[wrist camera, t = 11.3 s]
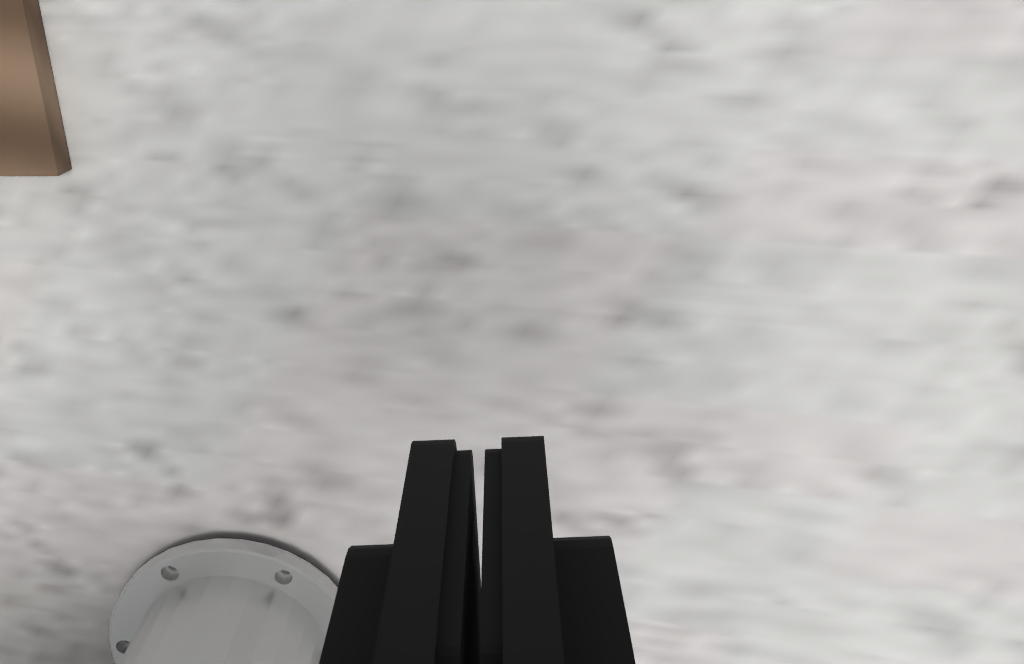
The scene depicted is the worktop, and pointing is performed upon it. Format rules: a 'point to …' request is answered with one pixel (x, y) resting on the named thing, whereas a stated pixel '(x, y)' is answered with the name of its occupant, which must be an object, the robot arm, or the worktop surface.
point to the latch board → (28, 96)
